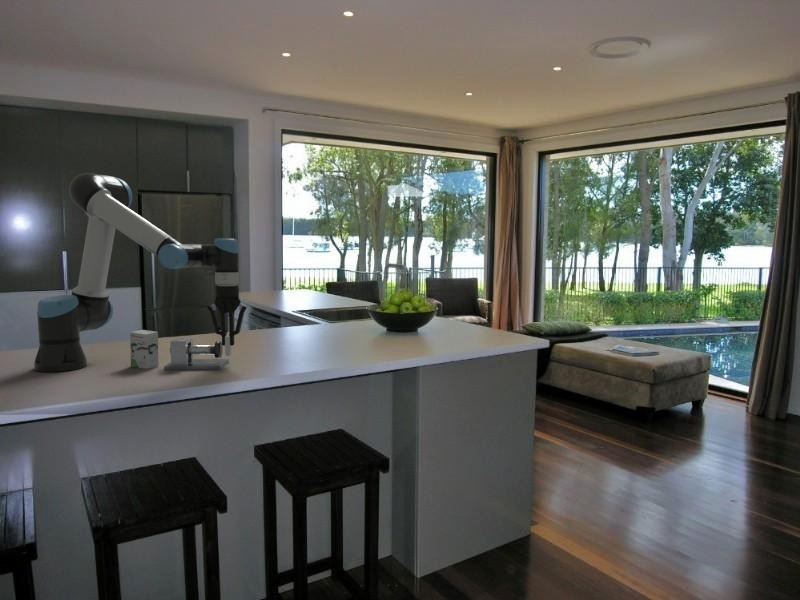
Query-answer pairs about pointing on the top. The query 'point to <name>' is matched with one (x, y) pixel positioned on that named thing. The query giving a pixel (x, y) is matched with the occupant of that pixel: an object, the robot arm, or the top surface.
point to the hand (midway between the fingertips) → (228, 355)
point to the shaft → (206, 349)
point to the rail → (200, 365)
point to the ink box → (144, 349)
